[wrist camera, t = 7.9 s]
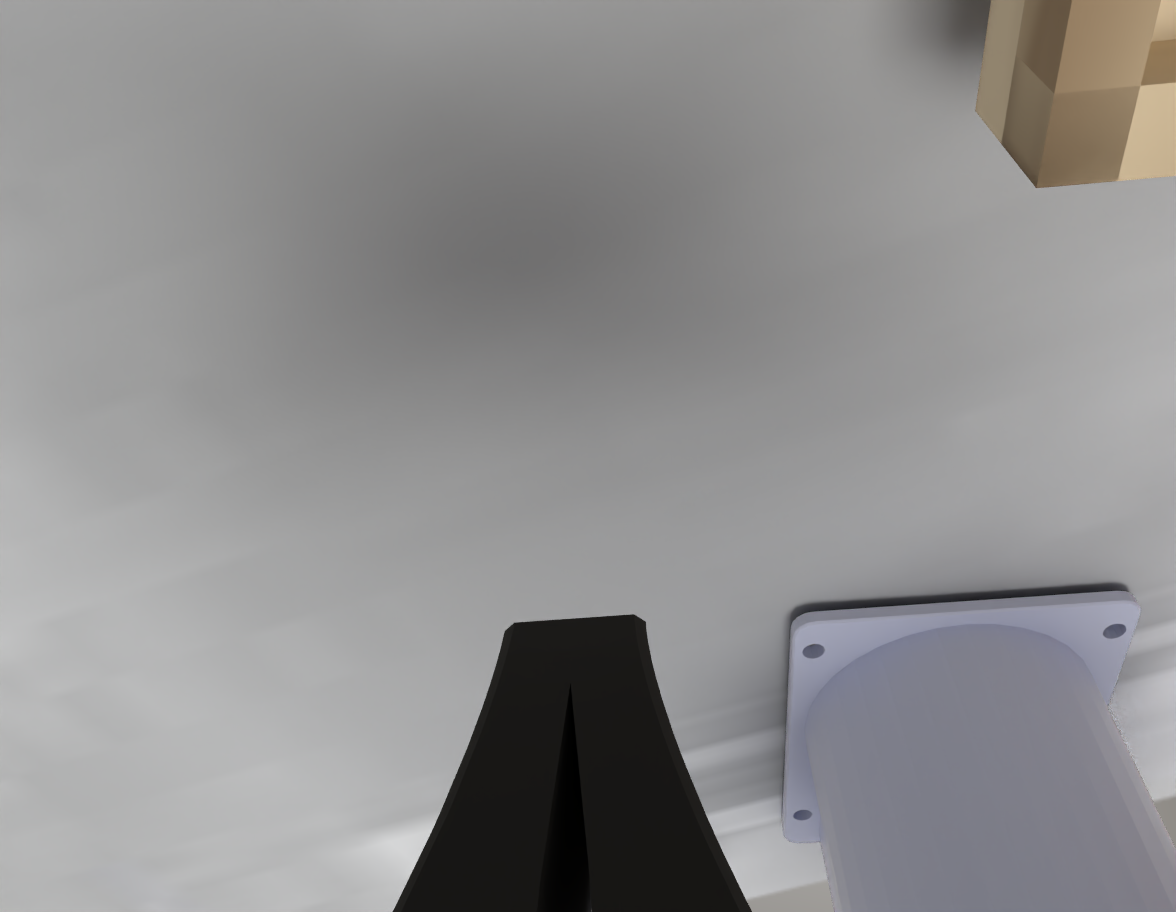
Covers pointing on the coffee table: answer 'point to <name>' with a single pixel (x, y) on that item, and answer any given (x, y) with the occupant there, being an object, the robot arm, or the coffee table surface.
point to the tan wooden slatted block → (1082, 88)
